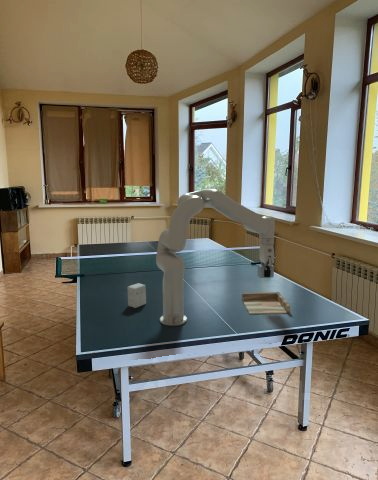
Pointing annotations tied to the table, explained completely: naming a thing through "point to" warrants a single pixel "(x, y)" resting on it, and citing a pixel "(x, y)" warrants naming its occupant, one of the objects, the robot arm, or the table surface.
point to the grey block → (261, 271)
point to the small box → (136, 295)
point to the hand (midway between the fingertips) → (265, 275)
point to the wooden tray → (265, 303)
